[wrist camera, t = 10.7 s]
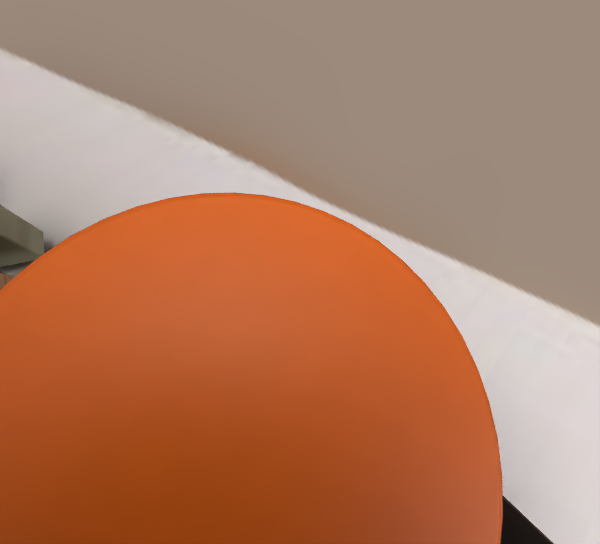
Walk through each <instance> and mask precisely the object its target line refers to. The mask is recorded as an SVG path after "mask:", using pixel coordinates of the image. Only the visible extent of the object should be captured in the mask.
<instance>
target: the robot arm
mask: <svg viewBox="0 0 600 544" xmlns="http://www.w3.org/2000/svg"><path fill="white" fill-rule="evenodd" d="M502 502H503V520H502V531H501V542H500V544H554V543H552V542H551V541H550V540H549V539H548V538H547V537H546V536H545V535H544V534H543V533H542V532H541V531H540V530H539V529H538V528H537V527H536V526H534V525H533V524H532V523H531V522H530V521H529V520H528V519H527V518H526V517H525V516H524V515H523V514H522V513H521V512H520V511H519V510H518V509H517V508H515V507H514V506H513V505H512V504H511V503H510V502H509V501H508V500H507V499H506V498H505V497H504V496H503V495H502Z"/></svg>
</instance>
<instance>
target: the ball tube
mask: <svg viewBox="0 0 600 544" xmlns="http://www.w3.org/2000/svg"><path fill="white" fill-rule="evenodd" d="M502 520H503V502H502V472H501V463H500V455H499V447H498V439H497V434H496V430H495V426H494V421H493V417H492V413H491V408H490V404H489V400H488V397H487V395H486V392H485V389H484V386H483V383H482V380H481V377H480V374H479V372H478V369H477V366H476V364H475V362H474V360H473V358H472V356H471V354H470V352H469V350H468V347H467V345H466V343H465V341H464V339H463V337H462V335H461V334H460V332H459V330H458V329H457V327H456V326H455V324H454V322H453V321H452V319H451V318H450V316H449V314H448V313H447V311H446V309H445V308H444V307H443V305H442V304H441V303H440V302H439V300H438V299H437V298H436V296H435V295H434V294H433V293H432V291H431V290H430V289H429V288H428V286H427V285H426V284H425V283H424V282H423V281H422V279H421V278H420V277H419V276H418V275H417V274H416V273H415V272H414V271H413V270H412V269H411V268H410V267H409V266H408V265H407V264H406V263H405V262H404V261H403V260H401V259H400V258H399V257H398V256H396V255H395V254H394V253H393V252H391V251H390V250H389V249H388V248H386V247H385V246H384V245H383V244H381V243H380V242H379V241H378V240H376V239H374V238H373V237H371V236H370V235H368V234H366V233H365V232H363V231H362V230H360V229H358V228H357V227H355V226H354V225H352V224H350V223H348V222H346V221H343V220H341V219H339V218H337V217H335V216H333V215H331V214H329V213H327V212H324V211H321V210H318V209H315V208H312V207H309V206H306V205H303V204H300V203H297V202H294V201H289V200H284V199H280V198H275V197H270V196H265V195H254V194H243V193H205V194H196V195H188V196H181V197H174V198H168V199H164V200H160V201H157V202H153V203H149V204H145V205H141V206H137V207H134V208H132V209H129V210H127V211H124V212H121V213H119V214H116V215H113V216H111V217H108V218H106V219H103V220H101V221H99V222H97V223H95V224H93V225H91V226H89V227H87V228H86V229H84V230H82V231H80V232H78V233H76V234H74V235H72V236H70V237H69V238H67V239H65V240H64V241H62V242H61V243H59V244H58V245H56V246H55V247H53V248H52V249H50V250H49V251H47V252H46V253H44V254H43V255H41V256H40V257H38V258H37V259H36V260H35V261H33V262H32V263H31V264H30V265H29V266H27V267H26V268H25V269H24V270H23V271H21V272H20V273H19V274H18V275H17V276H15V277H14V278H13V279H12V280H11V281H9V282H8V283H7V284H6V285H5V286H4V287H3V288H2V289H1V290H0V544H500V542H501V531H502Z"/></svg>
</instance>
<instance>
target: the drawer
mask: <svg viewBox="0 0 600 544" xmlns="http://www.w3.org/2000/svg"><path fill="white" fill-rule="evenodd" d="M44 253H45V250H44V240H43V232H42V231H41V230H39V229H37V228H36V227H34V226H33V225H31V224H30V223H28V222H26V221H25V220H23V219H22V218H20V217H19V216H17V215H15V214H14V213H12V212H11V211H9V210H8V209H6V208H4V207H3V206H1V205H0V267H3V266H8V265H13V264H18V263H23V262H28V261H33V260H36V259H37V258H38V257H40V256H41V255H43V254H44ZM13 278H14V277H12V276H9V275H6V274H4V273H1V272H0V290H1V289H2V288H3V287H4V286H5V285H6V284H7V283H8V282H9V281H11V280H12V279H13Z"/></svg>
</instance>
